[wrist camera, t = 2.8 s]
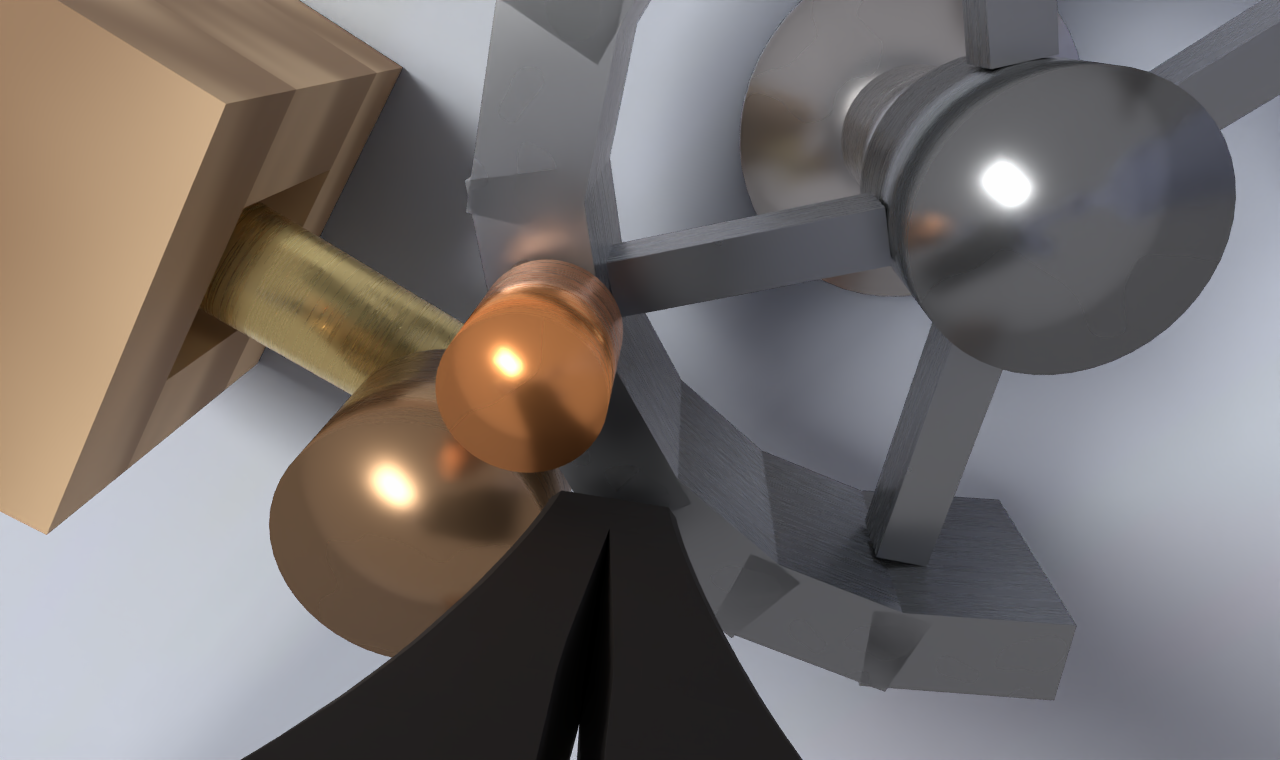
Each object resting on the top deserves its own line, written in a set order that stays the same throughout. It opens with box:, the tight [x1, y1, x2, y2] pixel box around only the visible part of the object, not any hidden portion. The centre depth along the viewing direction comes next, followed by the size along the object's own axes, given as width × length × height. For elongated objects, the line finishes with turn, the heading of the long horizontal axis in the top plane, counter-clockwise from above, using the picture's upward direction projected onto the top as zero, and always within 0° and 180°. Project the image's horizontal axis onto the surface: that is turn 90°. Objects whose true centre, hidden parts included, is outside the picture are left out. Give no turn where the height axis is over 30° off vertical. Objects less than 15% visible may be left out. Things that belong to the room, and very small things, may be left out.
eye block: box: [0, 0, 403, 535], centre depth 14 cm, size 4×7×6 cm, turn 147°
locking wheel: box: [435, 0, 1280, 700], centre depth 9 cm, size 10×12×5 cm
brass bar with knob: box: [199, 201, 572, 657], centre depth 13 cm, size 13×4×6 cm, turn 58°
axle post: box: [739, 0, 1079, 296], centre depth 14 cm, size 6×6×4 cm
